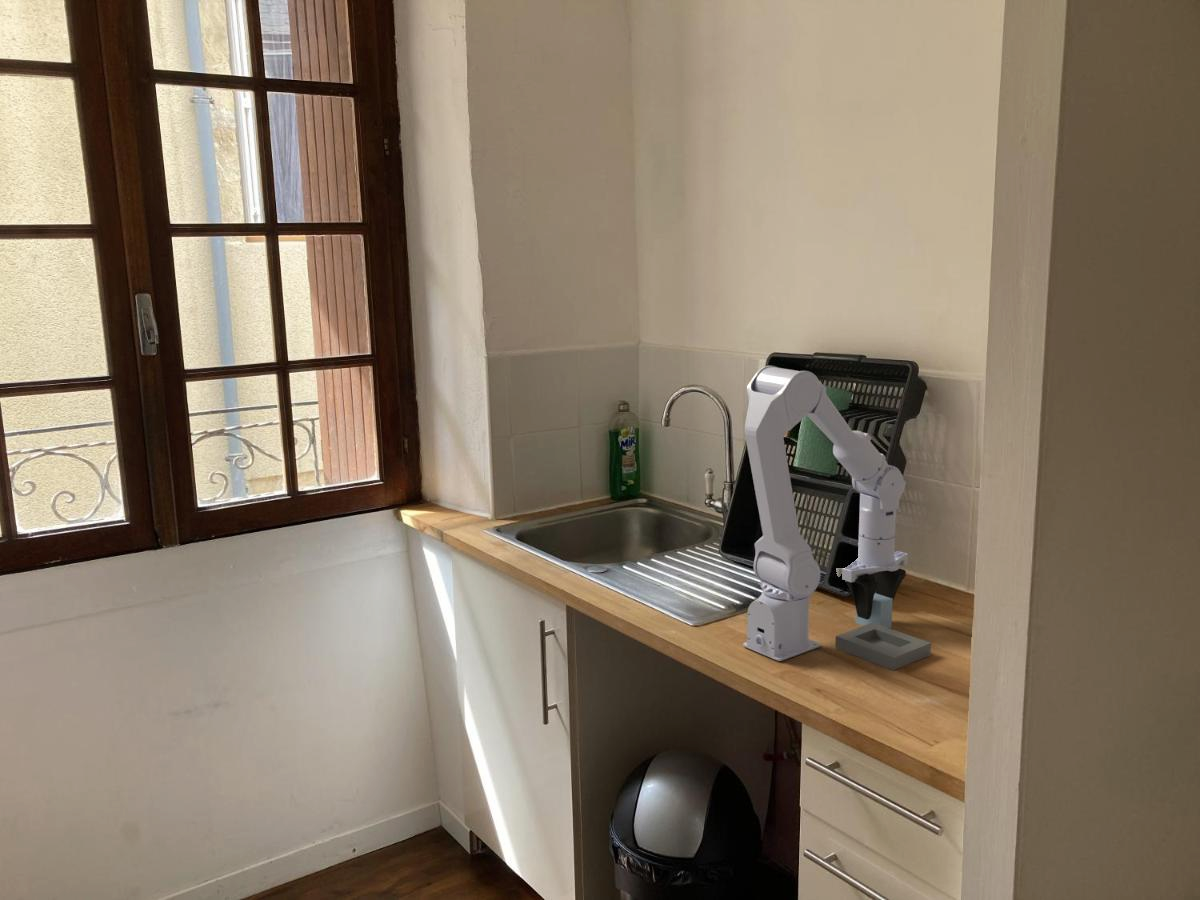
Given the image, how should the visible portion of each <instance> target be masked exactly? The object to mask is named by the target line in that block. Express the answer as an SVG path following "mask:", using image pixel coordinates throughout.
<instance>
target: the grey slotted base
mask: <svg viewBox="0 0 1200 900" xmlns="http://www.w3.org/2000/svg"><path fill="white" fill-rule="evenodd" d="M834 641H835V642H834V643H835V644H834V645H835V649H837V650H839V651H843V652H845V653H847V654H850V655H852V656H855V657H857V658H860V659H863V660H866V661H868V662H869V663H870V662H871V663H873V664H876V665H877V666H878V665H879V666H880V667H883V668H886V669H889V670H892V671H896V670H898V669H901V668H903V667H905V666H908V665H910V664H913V663H915V662H917V661H920V660H923V659H925V658H926V657H929V656H931V649H932V642H929V641H927V640H925V639H920V638H918V637H915V636H912V635H909V634H907V633H903V632H901V631H898V630H895V629H892V628H887V627H884V626H881V625H878V624H875V623H870V624H867V625H865V626H863V625H861V626H858V627H857V628H854V629H850V630H849V631H845V632H842V633H840V634H837V635H835V640H834Z"/></svg>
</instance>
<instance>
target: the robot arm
mask: <svg viewBox="0 0 1200 900" xmlns="http://www.w3.org/2000/svg"><path fill="white" fill-rule="evenodd" d="M746 392H747V393H746V394H747V397H748V407H747V413H746V418H745V424H744V436H745V441H746V448H747V454H748V458H749V464H750V469H751V474H752V476H751V477H752V480H753V485H754V486H753V487H754V491H755V492H754V493H755V499H756V504H757V508H758V514H759V520H760V521H759V522H760V527H761V531H762V536H761V537H759V539H758V540H756V542H754V550H755V556H754V560H753V572H754V575H755V577H756V578H757V580H759V581H760V588H761V589H762V591H761V594H760V596H758V598H757V599H755V600H754V601H751V603H750V604H749V606H748V608H747V613H746V614H747V620H746V621H747V622H746V623H747V626H746V631H747V632H746V633H747V634H746V636H747V637H746V642H743V645H742V646H743V647H745V648H747V649H749V650H752V651H754V652H756V653H758V654H761V655H763V656H765V657H767V658H768V657H769V658H770V659H773V660H775V661H778V662H782V661H785V660H788V659H791V658H792V657H797V656H798V655H801V654H803V653H807V652H809V651H812V650H814V649H817V648H820V647H821V643H820V642H818V641H815V640H812V639H810V638H809V630H810V629H809V628H810V627H809V626H810V625H809V624H810V622H809V620H810V598H811V597H813V593H814V592H815V591H816V589H817V588H818V586H819V583H820V581H821V568H820V566H819V564H818V562H817V561H816V560H815V559H814V556H813V551H812V548H811V546H810V545H809V544H808V542H807V541H806V540H805V538H804V537H803V536H802V535H801V533H800V530H799V524H798V523H799V522H798V518H797V511H796V505H795V500H794V494H793V487H792V481H791V476H790V469H789V463H788V459H787V452H786V446H785V440H784V439H785V436H786V434H787V433H788V431H791V430H792V429H793V428H794V427H795V426H796V425H797V424H799V423H800V422H801V421H802V420H803V419H804V418H805V417H808V418H809V419H810V420H811V422H813V423H814V425H815V426H816V427H817V428H818V429H819V430H820V431H821V432H822V433H823V434H824V435H825V436H826V438H827V439H829V440H830V442H831V443H833V447H832V454H833V456H834V457H835V458H836V459H837V461H838V462H839V463H840V464H841V466H842V467H843V468H844V469H845V471H847V473H848V474H849V475H850V476H851V485H852V488H853V490H855V491H857V492H858V493H859V517H858V519H859V520H858V522H859V523H858V558H857V559H856V560H855V561H854V562H852V563H851V564H850V565H848V566H847V567H845V568H842V580H845V582H846V583H847V585H848V587H849V589H848V590H849V591H850V592H851V596H852V599H853V602H854V606H855V612H856V611H857V616H858V617H861V618H863V619H866V620H868V619H870V617H871V612H872V603H873V598H874V594H875V593H876V594H879V595H883V596H886V597H889V598H892V599H893V601H894V600H895V597H896V594H897V591H898V589H899V587H900V585H901V583H902V582H903V581H904V579H905V578H906V576H907V575H906V574H907V571H906V570H905V569H902V568H900V566H902V567H903V566H907V565H908V563H909V553H907V552H903V551H899V550H898V551H895V544H896V541H895V540H896V525H897V524H896V521H897V511H898V508H899V507H900V500H901V497H902V495H903V494H904V491H905V489H906V484H907V481H905V480H904V477H903V474H902V472H901V470H900V469H899V467H896V466H894V465H890V464H888V461H887V460H886V459H887V458H886V455H884V454H883V453H880V452H879V450H878V449H877V448H876V446H875V445H874V444H873V443H872V441H871V440H872V439H873V438H872V436H871V435H870V434H869V433H866V432H863V431H861V430H852V429H851V427H850V426H849V424H848V423H847V421H846V420H845V419H844V417H843V416H842V415H841V413H840V412H839V410H838V409H837V407H836V406H835V405H834V403H833V402H832V400H831V399H830V397H829V396H828V394H827V387H826V385H824V384H823V383H822V382H821V381H820V380H819V378H818V376H817V375H816V374H814V373H813V372H811V371H809V370H800V371H799V370H794V369H790V368H789V369H788V368H782V367H778V366H775V365H765V366H763V367H760V369H758V370H757V371H756V373H755V374H754V375H753V377H752V378H751V379H750V381H749V383H748V384H747V386H746ZM870 575H873V578H874V580H873V579H872V577H870Z"/></svg>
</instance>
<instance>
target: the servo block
mask: <svg viewBox="0 0 1200 900" xmlns="http://www.w3.org/2000/svg"><path fill="white" fill-rule="evenodd" d="M893 604H894V600H893V599H892V598H889V597H886V596H883V595H879V594H876V592H875V594H874V598H873V603H872V612H871V617H870V619H868V620H866V619H863V618H861V617H858V616H857V611H856V610H855V624H857V625H860V626H865V625H867V624H870V623H875V624H878V625H881V626H884V627H887V628H890V629H892V624H893Z"/></svg>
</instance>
